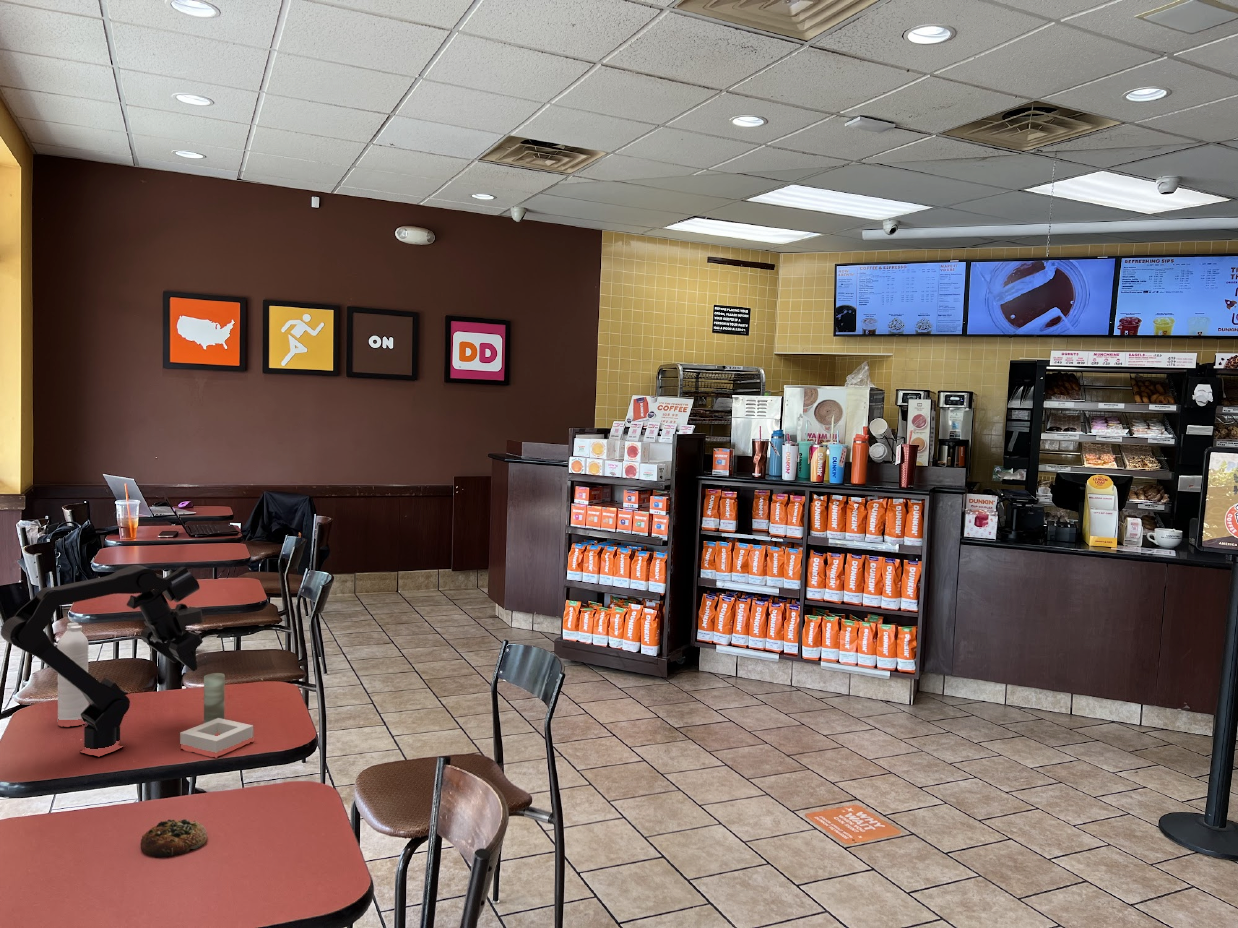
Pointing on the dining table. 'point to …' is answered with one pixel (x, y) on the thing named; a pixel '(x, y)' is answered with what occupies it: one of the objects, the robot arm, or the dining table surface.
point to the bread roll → (173, 838)
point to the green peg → (214, 696)
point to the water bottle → (68, 695)
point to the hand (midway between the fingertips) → (185, 665)
